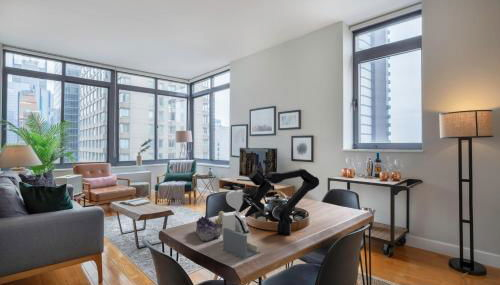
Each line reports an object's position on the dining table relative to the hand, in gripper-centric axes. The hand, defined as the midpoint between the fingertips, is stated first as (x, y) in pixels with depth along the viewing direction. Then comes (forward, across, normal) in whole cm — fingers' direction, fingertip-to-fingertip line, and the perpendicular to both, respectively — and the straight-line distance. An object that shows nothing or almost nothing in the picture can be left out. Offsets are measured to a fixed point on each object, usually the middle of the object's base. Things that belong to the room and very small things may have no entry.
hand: (242, 214), depth 136 cm
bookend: (+13, +13, +5) cm, 20 cm away
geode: (+21, -14, -2) cm, 25 cm away
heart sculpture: (+2, -39, +17) cm, 43 cm away
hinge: (+7, -17, +12) cm, 22 cm away
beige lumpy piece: (+14, -27, +6) cm, 31 cm away
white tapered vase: (+14, 0, +4) cm, 15 cm away
